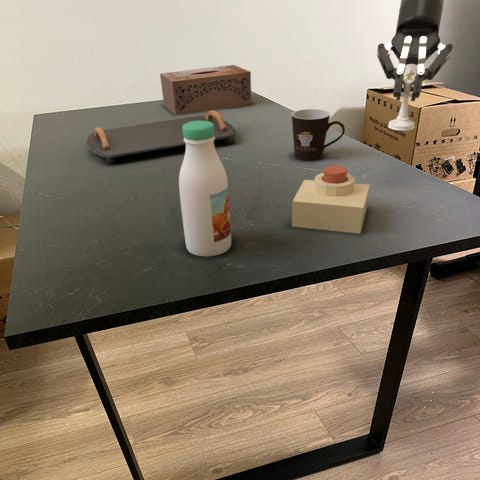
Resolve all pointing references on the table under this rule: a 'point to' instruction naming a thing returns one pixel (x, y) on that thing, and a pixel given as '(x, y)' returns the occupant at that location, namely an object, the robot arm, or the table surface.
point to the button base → (330, 205)
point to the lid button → (335, 174)
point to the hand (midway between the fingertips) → (406, 97)
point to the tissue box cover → (206, 89)
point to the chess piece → (404, 107)
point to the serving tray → (151, 136)
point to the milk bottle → (204, 193)
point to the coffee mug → (311, 133)
